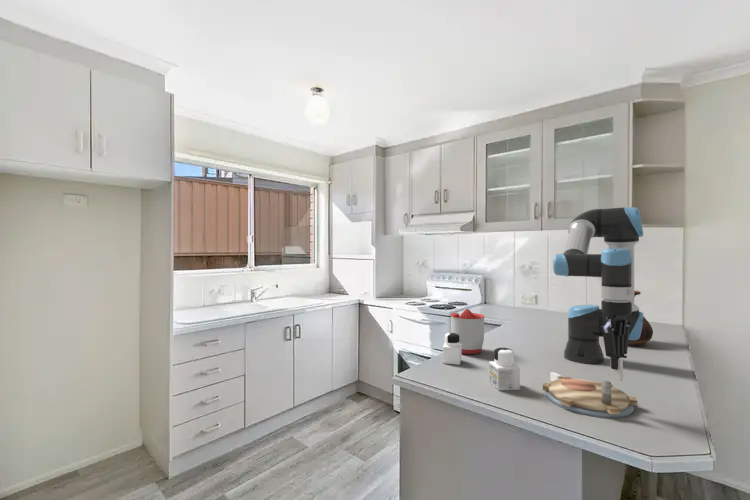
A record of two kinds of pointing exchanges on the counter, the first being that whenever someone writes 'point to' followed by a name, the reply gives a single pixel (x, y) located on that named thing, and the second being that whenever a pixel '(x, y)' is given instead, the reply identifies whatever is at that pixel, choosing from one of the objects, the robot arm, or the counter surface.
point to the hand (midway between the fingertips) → (616, 379)
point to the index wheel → (589, 395)
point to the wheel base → (581, 410)
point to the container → (504, 370)
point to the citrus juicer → (469, 331)
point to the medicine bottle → (452, 349)
